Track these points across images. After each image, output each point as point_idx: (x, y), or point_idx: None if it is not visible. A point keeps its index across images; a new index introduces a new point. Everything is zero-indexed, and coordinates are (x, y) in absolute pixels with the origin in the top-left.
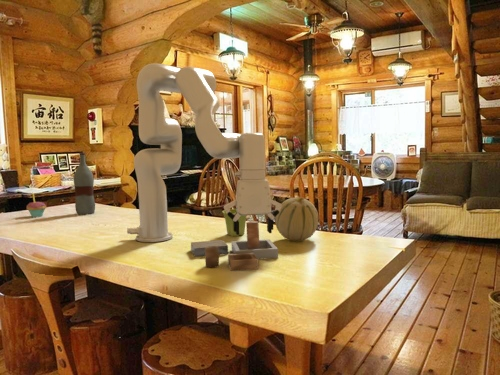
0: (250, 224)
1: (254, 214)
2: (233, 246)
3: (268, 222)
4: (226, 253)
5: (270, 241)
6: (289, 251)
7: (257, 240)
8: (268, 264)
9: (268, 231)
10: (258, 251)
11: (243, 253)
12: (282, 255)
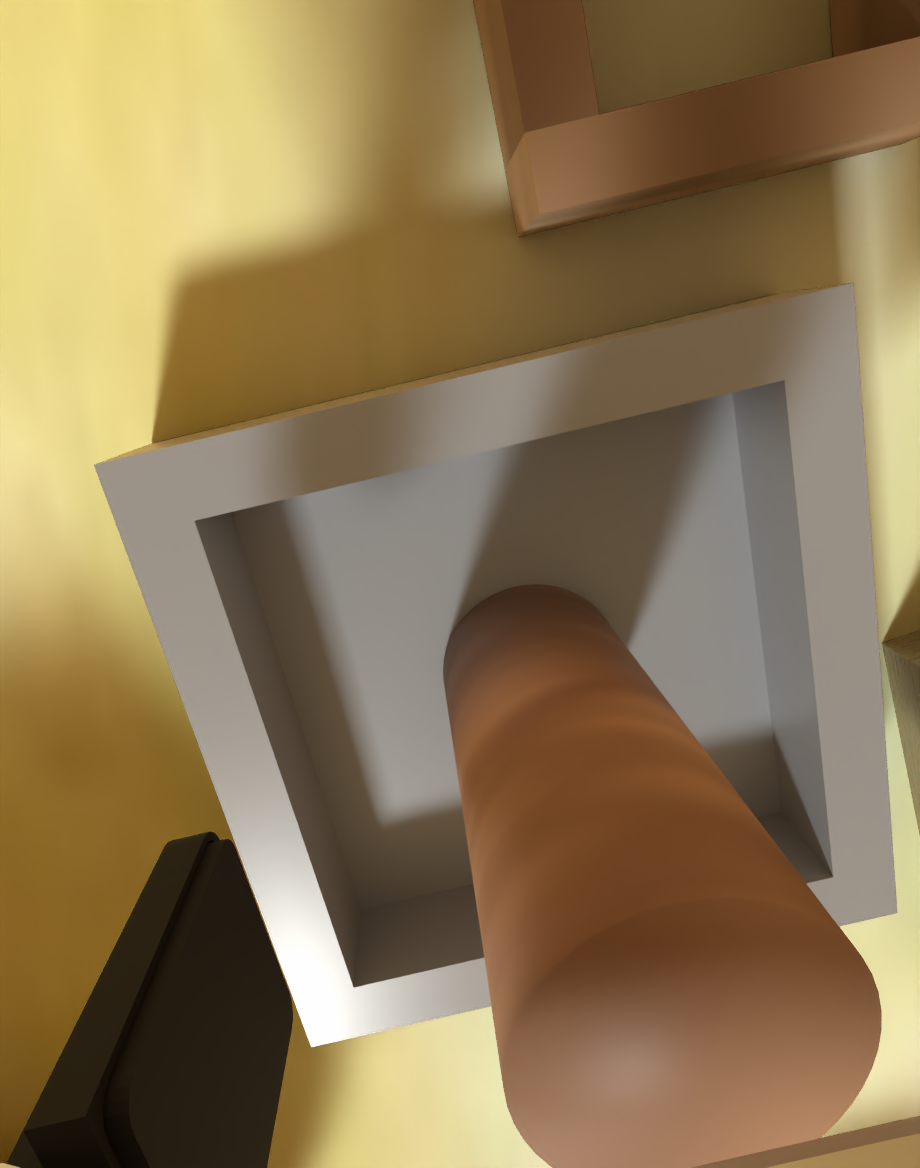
0: (749, 878)
1: (777, 1152)
2: (872, 666)
3: (182, 1096)
4: (910, 640)
5: (283, 938)
6: (27, 798)
7: (487, 702)
8: (266, 74)
9: (249, 909)
10: (447, 381)
11: (718, 165)
12: (102, 596)
